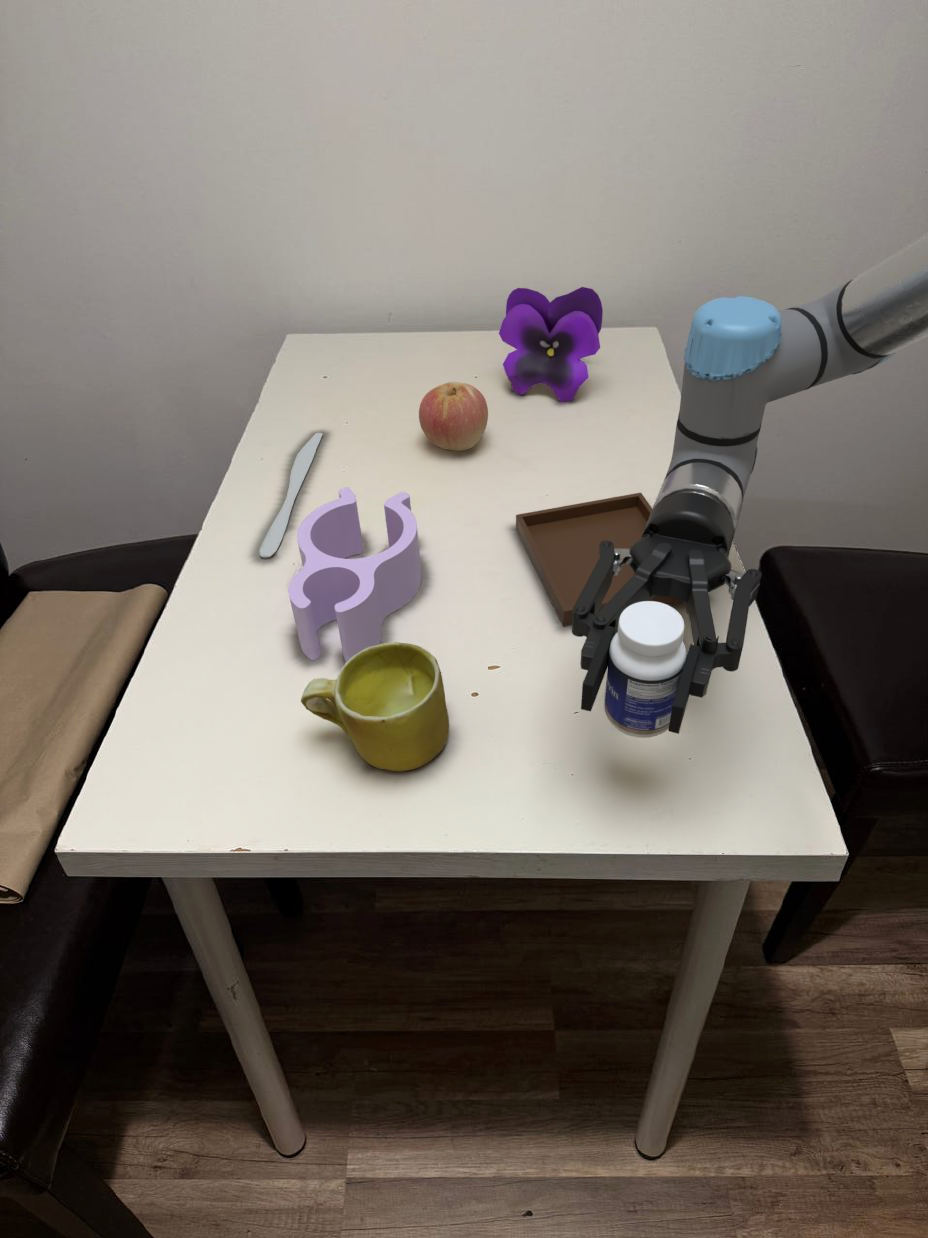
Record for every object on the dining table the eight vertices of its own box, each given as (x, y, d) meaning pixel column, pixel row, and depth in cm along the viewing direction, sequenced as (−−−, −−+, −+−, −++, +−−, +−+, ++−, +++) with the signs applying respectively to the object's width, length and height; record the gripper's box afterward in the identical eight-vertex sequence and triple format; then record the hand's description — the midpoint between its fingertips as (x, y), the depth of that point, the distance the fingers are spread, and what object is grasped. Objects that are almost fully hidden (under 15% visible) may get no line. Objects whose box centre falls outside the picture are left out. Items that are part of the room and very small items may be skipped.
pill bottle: (602, 685, 73) (611, 594, 67) (673, 688, 73) (689, 596, 66) (603, 739, 69) (613, 647, 62) (678, 743, 69) (696, 650, 62)
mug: (476, 682, 83) (441, 628, 75) (453, 787, 78) (414, 742, 70) (358, 677, 87) (313, 626, 79) (330, 776, 82) (279, 732, 74)
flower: (515, 391, 137) (486, 389, 125) (531, 289, 133) (502, 277, 121) (607, 406, 133) (586, 406, 121) (627, 300, 129) (607, 289, 116)
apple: (474, 466, 113) (472, 409, 108) (410, 454, 116) (405, 398, 110) (498, 432, 119) (497, 377, 114) (437, 421, 122) (433, 367, 116)
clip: (391, 668, 87) (384, 616, 82) (270, 655, 89) (257, 603, 85) (434, 544, 101) (430, 493, 97) (330, 535, 104) (321, 485, 99)
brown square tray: (702, 599, 93) (705, 583, 91) (563, 626, 91) (563, 611, 89) (639, 506, 105) (641, 492, 104) (515, 529, 103) (515, 514, 102)
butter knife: (248, 554, 101) (273, 554, 100) (306, 432, 121) (327, 431, 120) (249, 558, 101) (275, 558, 101) (307, 436, 121) (328, 435, 120)
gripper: (792, 578, 79) (756, 776, 63) (587, 538, 84) (506, 712, 69) (811, 508, 74) (776, 705, 58) (591, 471, 79) (505, 641, 64)
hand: (630, 708), depth 63 cm, fingers closed on pill bottle, 6 cm apart
